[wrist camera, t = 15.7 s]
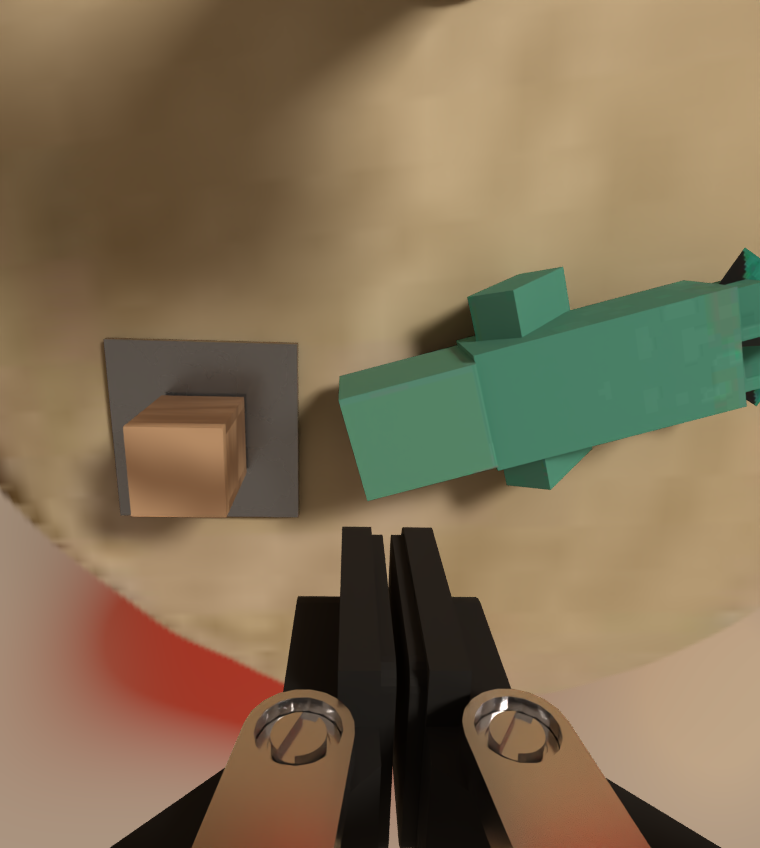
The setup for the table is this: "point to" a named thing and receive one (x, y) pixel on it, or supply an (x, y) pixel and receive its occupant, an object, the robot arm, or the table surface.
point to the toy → (555, 380)
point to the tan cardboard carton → (186, 456)
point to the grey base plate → (224, 377)
